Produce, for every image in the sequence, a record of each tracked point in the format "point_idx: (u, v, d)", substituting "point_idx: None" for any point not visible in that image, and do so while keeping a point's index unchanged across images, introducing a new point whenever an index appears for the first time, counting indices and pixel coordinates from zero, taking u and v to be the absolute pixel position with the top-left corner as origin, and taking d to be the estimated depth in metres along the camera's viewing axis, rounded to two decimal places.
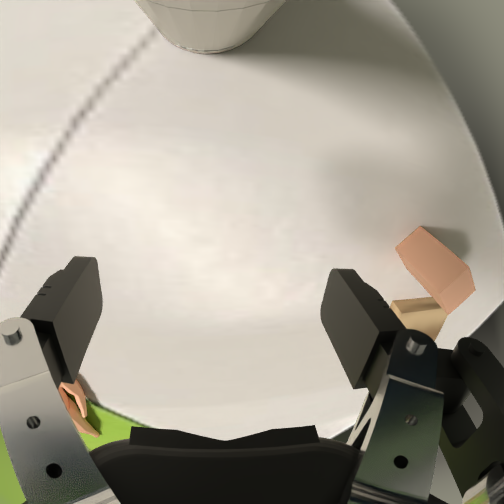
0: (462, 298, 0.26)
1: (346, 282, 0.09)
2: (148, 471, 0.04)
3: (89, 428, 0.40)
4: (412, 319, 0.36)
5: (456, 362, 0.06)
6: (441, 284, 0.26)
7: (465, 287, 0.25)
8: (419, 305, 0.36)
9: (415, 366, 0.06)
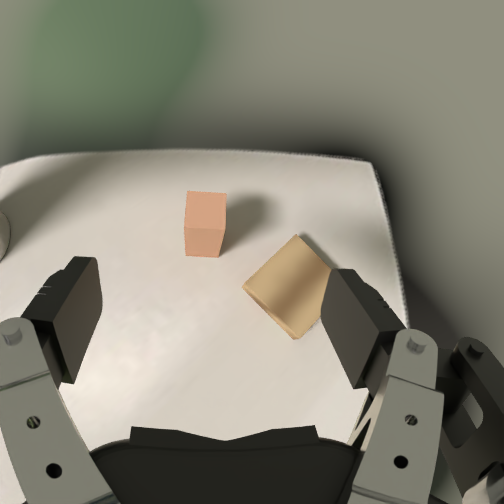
0: (219, 208, 0.31)
1: (346, 282, 0.09)
2: (148, 471, 0.04)
3: None
4: (267, 276, 0.37)
5: (456, 362, 0.06)
6: None
7: (208, 201, 0.31)
8: None
9: (415, 366, 0.06)
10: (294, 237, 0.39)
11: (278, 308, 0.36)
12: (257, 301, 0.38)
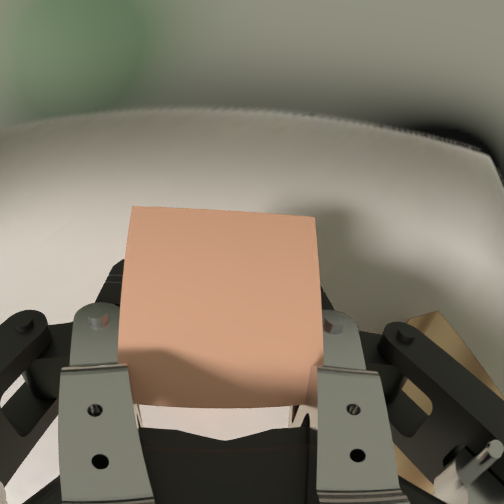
0: (292, 294, 0.06)
1: None
2: (148, 471, 0.04)
3: None
4: None
5: (387, 352, 0.07)
6: None
7: (235, 260, 0.06)
8: None
9: (323, 345, 0.07)
10: (436, 319, 0.14)
11: None
12: None
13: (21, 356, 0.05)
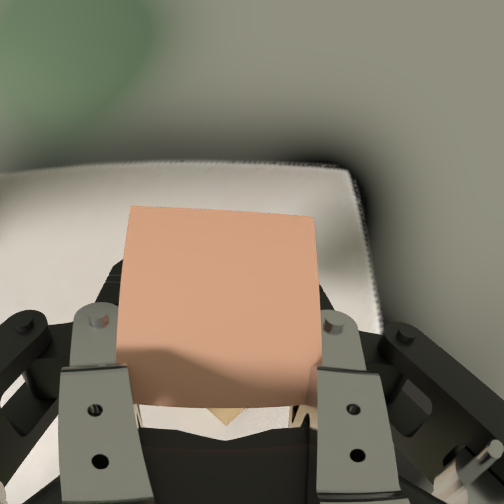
0: (291, 295, 0.06)
1: None
2: (148, 471, 0.04)
3: None
4: None
5: (387, 353, 0.07)
6: None
7: (233, 260, 0.06)
8: None
9: (323, 345, 0.07)
10: None
11: None
12: None
13: (22, 355, 0.05)
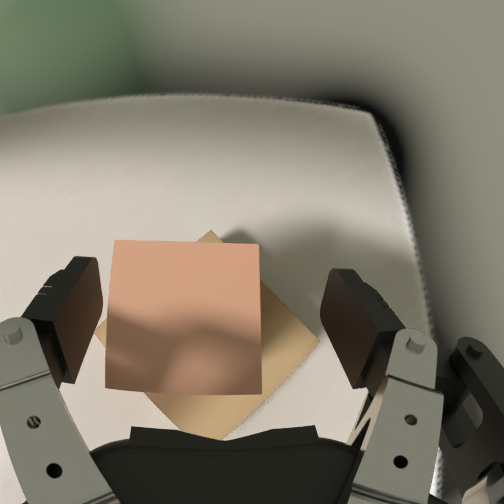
0: (236, 308, 0.08)
1: (346, 282, 0.09)
2: (148, 471, 0.04)
3: None
4: None
5: (456, 362, 0.06)
6: None
7: (192, 281, 0.08)
8: None
9: (414, 366, 0.06)
10: (206, 237, 0.18)
11: None
12: None
13: None
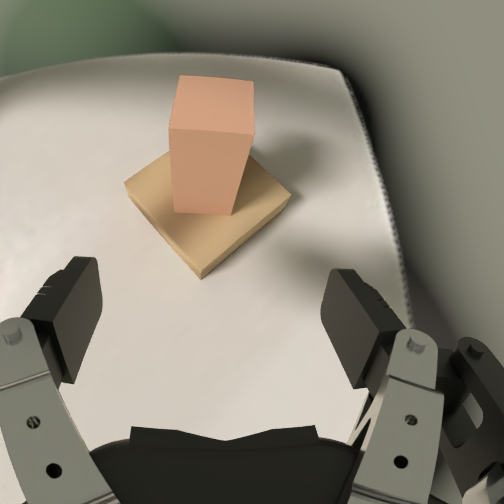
0: (242, 101, 0.15)
1: (346, 282, 0.09)
2: (148, 471, 0.04)
3: None
4: (158, 174, 0.23)
5: (456, 362, 0.06)
6: None
7: (220, 90, 0.15)
8: None
9: (415, 366, 0.06)
10: None
11: (168, 220, 0.22)
12: (146, 216, 0.23)
13: None
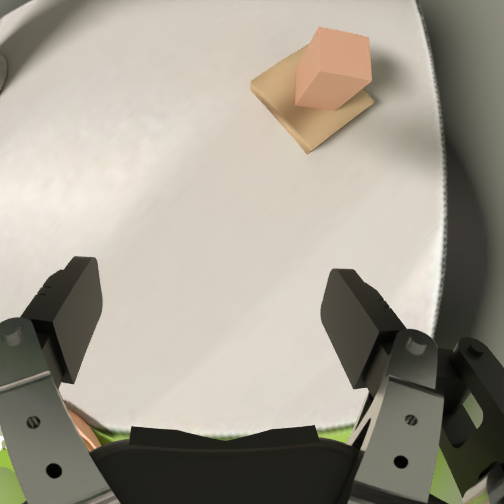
0: (363, 54, 0.19)
1: (346, 282, 0.09)
2: (148, 471, 0.04)
3: None
4: (278, 77, 0.27)
5: (456, 362, 0.06)
6: (317, 65, 0.20)
7: (348, 43, 0.19)
8: None
9: (415, 366, 0.06)
10: None
11: (289, 112, 0.28)
12: (266, 105, 0.30)
13: None
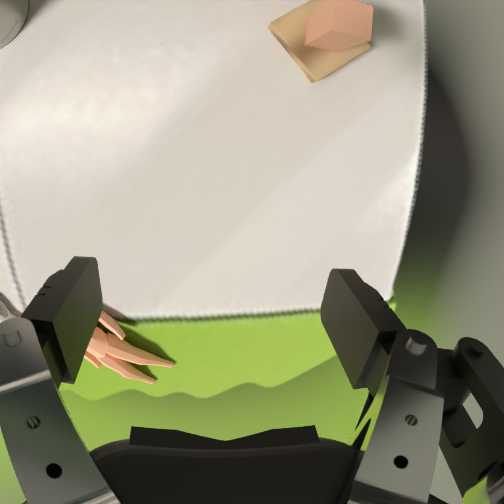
0: (366, 19, 0.22)
1: (346, 282, 0.09)
2: (148, 471, 0.04)
3: (148, 356, 0.48)
4: (293, 21, 0.29)
5: (456, 362, 0.06)
6: (329, 23, 0.23)
7: (356, 9, 0.21)
8: None
9: (415, 366, 0.06)
10: None
11: (300, 50, 0.31)
12: (281, 42, 0.32)
13: None
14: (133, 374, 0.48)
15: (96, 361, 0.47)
